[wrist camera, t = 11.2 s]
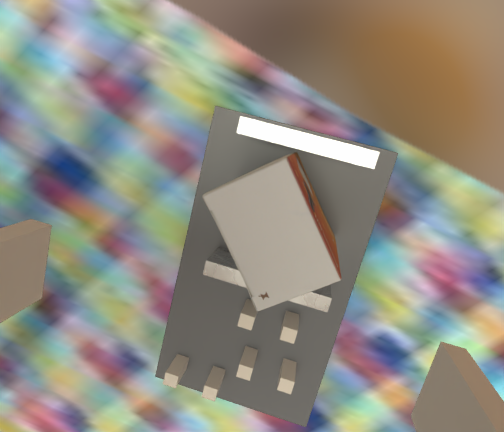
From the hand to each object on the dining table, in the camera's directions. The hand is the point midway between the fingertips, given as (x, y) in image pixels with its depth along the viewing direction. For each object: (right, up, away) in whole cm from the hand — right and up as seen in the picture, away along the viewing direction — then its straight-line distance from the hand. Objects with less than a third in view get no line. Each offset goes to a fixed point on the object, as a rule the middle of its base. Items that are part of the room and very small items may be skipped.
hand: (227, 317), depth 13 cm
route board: (+2, -2, +22) cm, 23 cm away
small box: (+4, +4, +20) cm, 21 cm away
